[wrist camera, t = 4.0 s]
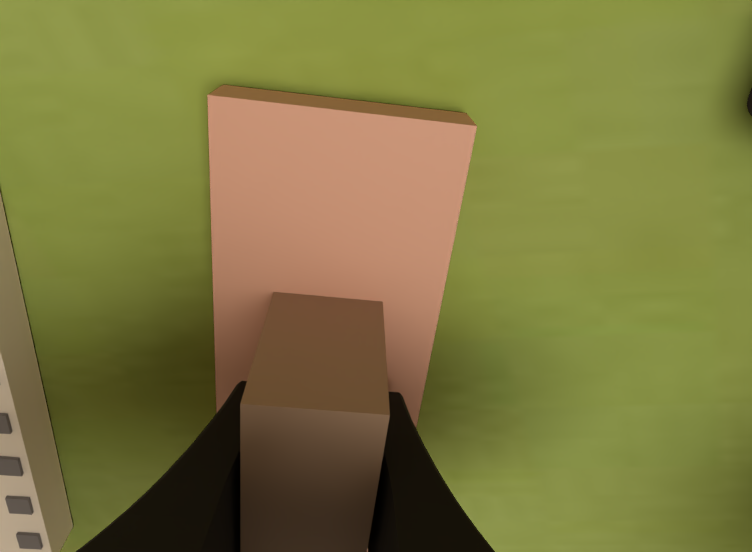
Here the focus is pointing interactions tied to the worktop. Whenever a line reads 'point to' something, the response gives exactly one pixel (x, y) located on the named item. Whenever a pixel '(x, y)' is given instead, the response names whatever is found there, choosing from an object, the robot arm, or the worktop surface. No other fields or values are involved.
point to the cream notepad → (25, 429)
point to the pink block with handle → (325, 294)
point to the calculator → (750, 102)
